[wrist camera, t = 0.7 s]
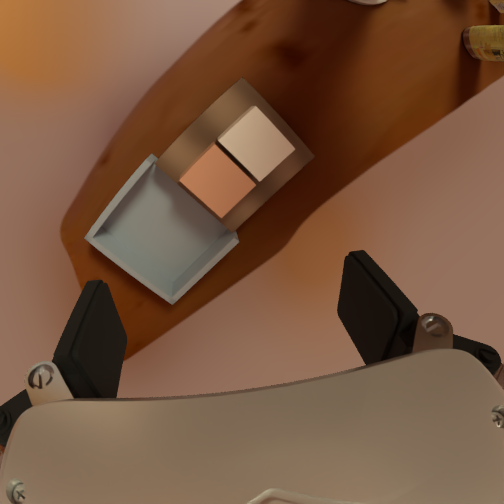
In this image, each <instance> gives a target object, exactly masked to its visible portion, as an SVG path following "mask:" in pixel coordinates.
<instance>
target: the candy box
mask: <svg viewBox="0 0 504 504" xmlns="http://www.w3.org/2000/svg"><path fill="white" fill-rule="evenodd" d="M489 2H490V3H491V4H492V5H493V6H494V7H495V8H496V9H497V10H498V11H499V12H500V13H504V0H489Z"/></svg>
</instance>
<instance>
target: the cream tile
mask: <svg viewBox="0 0 504 504" xmlns="http://www.w3.org/2000/svg"><path fill="white" fill-rule="evenodd" d="M217 139H218V141H219V142H220V143H221V144H222V145H223V146H224V147H225V148H226V149H227V150H228V151H229V152H230V153H231V154H232V155H233V156H234V157H235V158H236V159H238V160H239V161H240V162H241V163H242V164H243V165H244V166H245V167H246V168H247V169H248V170H249V171H250V172H251V173H252V174H253V175H254V177H255V178H256V179H257V180H258V181H259V182H260V181H261V180H262V179H263V178H264V177H266V176H267V175H268V174H269V173H270V172H271V171H272V170H273V169H274V168H275V167H276V166H277V165H279V164H280V163H281V162H282V161H283V160H284V159H285V158H286V157H287V156H288V155H290V154H291V153H292V152H293V151H294V150H295V148H294V147H293V146H292V145H291V143H290V142H289V141H288V140H287V139H286V138H285V137H284V136H283V134H282V133H281V132H280V131H279V130H278V129H277V128H276V127H275V126H274V125H273V124H272V123H271V121H270V120H269V119H268V118H267V117H266V116H265V115H264V114H263V113H262V112H261V111H260V110H259V109H258V108H257V107H256V106H251V107H250V108H249V109H248V110H247V111H246V112H245V113H243V114H242V115H241V116H240V117H239V118H238V119H237V120H236V121H235V122H234V123H233V124H231V125H230V126H229V127H228V128H227V129H226V130H225V131H224V132H223V133H222V134H221V135H220V136H219V137H218V138H217Z"/></svg>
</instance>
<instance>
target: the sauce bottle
mask: <svg viewBox="0 0 504 504" xmlns="http://www.w3.org/2000/svg"><path fill="white" fill-rule="evenodd" d="M463 42H464V45H465V47H466V49H467V51H468V52H469V54H470V55H471V56H472V57H473V58H475V59H481V60H486V61H501V62H504V25H490V26H473V27H468V28H466V29H465V30H464V31H463Z"/></svg>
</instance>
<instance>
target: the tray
mask: <svg viewBox="0 0 504 504" xmlns="http://www.w3.org/2000/svg"><path fill="white" fill-rule="evenodd" d="M157 160H158V159H157V158H156V157H155V156H154V155H153V154H151V155H150V156H149V157H148V158H147V159H146V160H145V161H144V162H143V163H142V164H141V165H140V167H139V168H138V169H137V170H136V171H135V172H134V174H133V175H132V176H131V177H130V178H129V180H128V181H127V182H126V183H125V185H124V186H123V187H122V188H121V189H120V191H119V192H118V193H117V195H116V196H115V197H114V198H113V200H112V201H111V202H110V204H109V205H108V206H107V207H106V209H105V210H104V211H103V213H102V214H101V215H100V217H99V218H98V220H97V221H96V222H95V224H94V225H93V226H92V228H91V229H90V231H89V232H88V233H87V235H86V236H85V238H84V239H86V240H87V241H88V242H89V243H91V244H92V245H93V246H94V247H95V248H97V249H98V250H99V251H100V252H102V253H103V254H104V255H106V256H107V257H108V258H109V259H111V260H112V261H113V262H114V263H116V264H117V265H118V266H120V267H121V268H122V269H124V270H125V271H126V272H128V273H129V274H130V275H132V276H133V277H134V278H136V279H137V280H138V281H140V282H141V283H142V284H144V285H145V286H146V287H148V288H149V289H151V290H152V291H153V292H155V293H156V294H158V295H159V296H160V297H162V298H163V299H165V300H166V301H168V302H169V303H170V304H172V305H173V304H174V303H175V302H176V301H177V300H178V299H179V298H180V297H181V296H183V295H184V294H185V293H186V292H187V291H188V290H189V289H190V288H191V287H192V286H193V285H194V284H195V283H196V282H197V281H198V280H199V279H200V278H201V277H203V276H204V275H205V274H206V273H207V272H208V271H209V270H210V269H211V268H212V267H213V266H214V265H215V264H216V263H217V262H218V261H220V260H221V259H222V258H223V257H224V256H225V255H226V254H227V253H228V252H229V251H230V250H231V249H232V248H233V247H234V246H236V245H237V244H238V243H239V239H238V236H237V232H236V230H235V231H234V232H233V233H232V232H231V231H229V230H228V229H227V228H226V227H225V226H224V225H223V224H222V223H220V222H219V221H218V220H217V219H216V218H215V217H214V216H213V215H211V214H210V213H209V212H208V211H207V210H206V209H205V208H204V207H202V206H201V205H200V204H199V203H198V202H197V201H196V200H195V199H193V198H192V197H191V196H190V195H189V194H188V193H187V192H186V191H184V190H183V189H182V188H181V187H180V186H179V185H178V184H177V183H175V182H174V181H173V180H172V179H171V178H170V177H169V176H168V175H166V174H165V173H164V172H163V171H162V170H161V169H160V168H159V167H157V166H156V165H155V164H154V163H155V162H156V161H157Z"/></svg>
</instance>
